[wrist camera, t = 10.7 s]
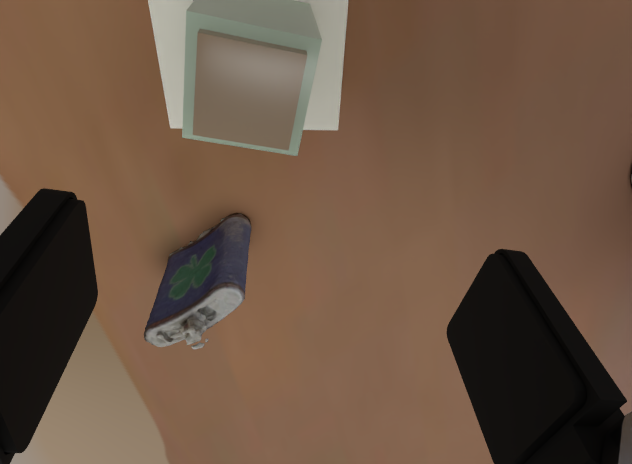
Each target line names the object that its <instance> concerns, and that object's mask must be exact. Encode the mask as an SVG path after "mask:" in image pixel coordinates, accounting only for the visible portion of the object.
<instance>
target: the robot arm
mask: <svg viewBox="0 0 632 464" xmlns="http://www.w3.org/2000/svg"><path fill="white" fill-rule="evenodd" d="M631 182H632V176H631ZM97 295H98V289H97V282H96V275H95V268H94V261H93V254H92V247H91V240H90V233H89V226H88V219H87V212H86V206H85V203H84V201H82V200H77V197H76V195H75V194H74V193H73V192H67V191H59V190H52V189H41V190H40V191H38V192H37V194H36V195H35V196H34V197H33V198H32V199H31V200H30V202H29V203H28V204H27V205H26V206H25V207H24V209H23V210H22V211H21V212H20V213H19V214H18V216H17V217H16V218H15V219H14V220H13V221H12V222H11V224H10V225H9V226H8V227H7V228H6V229H5V231H4V232H3V233H2V234H1V235H0V464H10V462H11V460H12V458H13V456H14V454H15V453H22V452H23V451H25V449H26V448H27V446H28V445H29V443H30V441H31V439H32V437H33V435H34V433H35V430H36V428H37V426H38V424H39V422H40V420H41V418H42V416H43V414H44V412H45V410H46V407H47V405H48V403H49V401H50V399H51V397H52V395H53V392H54V391H55V388H56V386H57V384H58V382H59V380H60V378H61V376H62V374H63V372H64V369H65V368H66V366H67V363H68V361H69V359H70V357H71V355H72V353H73V351H74V349H75V347H76V345H77V342H78V340H79V338H80V336H81V334H82V332H83V330H84V328H85V326H86V324H87V321H88V319H89V317H90V315H91V313H92V311H93V309H94V307H95V304H96V301H97ZM447 338H448V341H449V344H450V346H451V349H452V352H453V355H454V357H455V360H456V363H457V365H458V368H459V371H460V373H461V376H462V379H463V381H464V384H465V387H466V390H467V392H468V395H469V398H470V400H471V403H472V406H473V408H474V411H475V414H476V417H477V419H478V422H479V425H480V427H481V430H482V433H483V435H484V438H485V441H486V443H487V446H488V449H489V452H490V454H491V457H492V460H493V462H494V464H632V412H630V413H628V414H626V415H625V416H624V415H623V413H622V411H621V410H620V407H621V406H622V405H623V404H625V403H626V402H627V400H626V398H625V397H624V396H623V394H622V393H621V391H620V390H619V388H618V387H617V385H616V384H615V382H614V381H613V379H612V378H611V377H610V375H609V374H608V372H607V371H606V369H605V368H604V366H603V365H602V363H601V362H600V361H599V359H598V358H597V356H596V355H595V353H594V352H593V350H592V349H591V347H590V346H589V345H588V343H587V342H586V340H585V339H584V337H583V336H582V334H581V333H580V331H579V330H578V328H577V327H576V326H575V324H574V323H573V321H572V320H571V318H570V317H569V315H568V314H567V312H566V311H565V310H564V308H563V307H562V305H561V304H560V302H559V301H558V299H557V298H556V296H555V295H554V294H553V292H552V291H551V289H550V288H549V286H548V285H547V283H546V282H545V280H544V279H543V278H542V276H541V275H540V273H539V272H538V270H537V269H536V267H535V266H534V264H533V263H532V261H531V260H530V259H529V257H528V256H527V255H526V254H525V253H524V252H521V251H513V250H506V249H499V250H497V251H496V252H495V253H494V254H491V255H489V256H488V257H487V259H486V261H485V262H484V264H483V266H482V267H481V269H480V271H479V273H478V274H477V276H476V278H475V279H474V281H473V283H472V285H471V286H470V288H469V290H468V291H467V293H466V295H465V297H464V298H463V300H462V302H461V303H460V305H459V307H458V309H457V310H456V312H455V314H454V315H453V317H452V319H451V321H450V322H449V324H448V327H447Z"/></svg>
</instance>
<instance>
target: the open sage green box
mask: <svg viewBox="0 0 632 464" xmlns="http://www.w3.org/2000/svg"><path fill="white" fill-rule="evenodd" d="M321 42H322V38H321V35H320V32H319V29H318V26H317V23H316V20H315V17H314V14H313V11H312V8H311V5H310V4H309V3H304V2H300V1H296V0H194V1H193V3H192V4H191V5H190V6H189V8H188V9H187V10H186V36H185V67H184V98H183V130H182V138H188V139H195V140H201V141H207V142H213V143H219V144H226V145H232V146H238V147H244V148H250V149H257V150H263V151H269V152H275V153H282V154H288V155H294V156H297V155H298V150H299V145H300V141H301V136H302V131H303V127H304V122H305V117H306V113H307V108H308V103H309V99H310V94H311V89H312V84H313V80H314V75H315V70H316V66H317V61H318V56H319V52H320V47H321Z"/></svg>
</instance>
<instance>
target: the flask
mask: <svg viewBox="0 0 632 464" xmlns="http://www.w3.org/2000/svg"><path fill="white" fill-rule="evenodd" d="M250 233H251V224H250V221H249V219H247V218H246V217H245V216H243V215H242V214H235V215H231V216H228V217H226V218H223V219H222V220H221V222H220V223H219V224H218V225H216V226H215V227H213V228H211V229H208V230H207V231H204V232H203V233H202V234H200V236H199V237H198V239H197V241H195V242H191V241H190V243H189V244H188V246H186V247H183V248H180V249H179V250H177V251H175V252H174V253H171V254H170V256H169V259H168V263H167V267H166V270H165V273H164V276H163V279H162V281H161V284H160V286H159V290H158V293H157V296H156V299H155V302H154V305H153V308H152V311H151V313H150V318H149V320H148V322H147V325H146V328H145V332H144V338H145V340H146V341H147V342H149V343H151V344H152V345H155V346H158V347H164V346H169V345H172V344H174V343H176V342H179V341H182V340H185V339H186V341H187V344H186V345H189V344H192V343H195V342H198V341H200V340H201V335H202V334H203V332H205V331H206V330H207V329H208V328H210V327H212V326H213V325H214V324H216V323H218V322H219V321H220V320H222V319H223V318H224V317H226V316H227V315H228V314H229V313H231V312H232V311H234V310H235V309H236V308H237V307H238V306H239V305H240V304H241V303H242V302H243V300H244V299H245V284H246V272H247V263H248V249H249V242H250ZM205 341H206V342H208V339H206V340H205ZM203 346H204V344H203V343H198V344H197V345H195V346H191V347H192V349H198V348H202V347H203Z"/></svg>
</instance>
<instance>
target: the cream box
mask: <svg viewBox="0 0 632 464" xmlns="http://www.w3.org/2000/svg"><path fill="white" fill-rule="evenodd" d="M193 1H194V0H148V3H149V9H150V15H151V20H152V26H153V32H154V38H155V43H156V49H157V55H158V60H159V66H160V72H161V78H162V83H163V89H164V95H165V100H166V106H167V112H168V117H169V123H170V128H183V98H184V67H185V36H186V10H187V9H188V8H189V6H190V5H191V4H192V3H193ZM296 1H300V2H304V3H309V4H310V5H311V8H312V11H313V14H314V17H315V20H316V23H317V26H318V29H319V32H320V35H321V38H322V42H321V47H320V52H319V56H318V61H317V66H316V70H315V75H314V80H313V84H312V89H311V94H310V99H309V103H308V108H307V113H306V117H305V122H304V127H303V130H338V123H339V111H340V98H341V86H342V74H343V61H344V49H345V36H346V24H347V12H348V0H296Z"/></svg>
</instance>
